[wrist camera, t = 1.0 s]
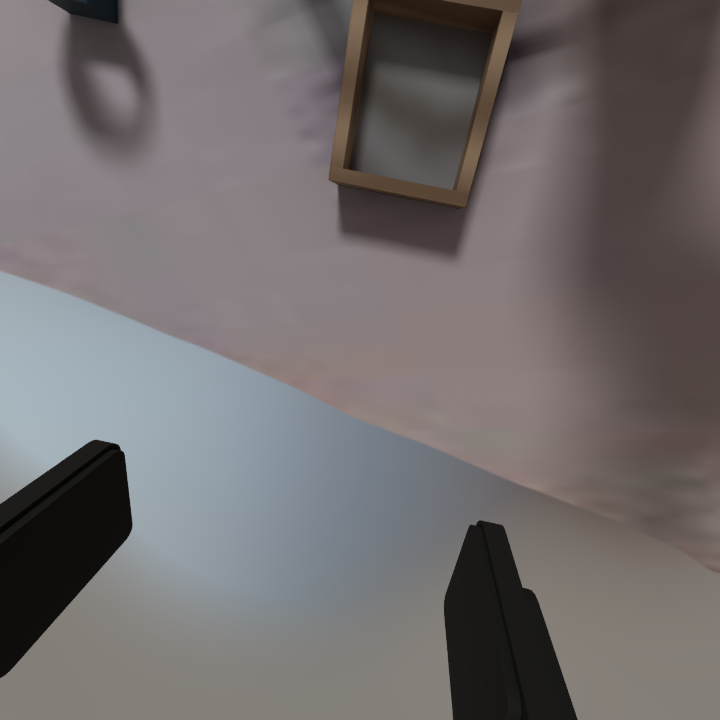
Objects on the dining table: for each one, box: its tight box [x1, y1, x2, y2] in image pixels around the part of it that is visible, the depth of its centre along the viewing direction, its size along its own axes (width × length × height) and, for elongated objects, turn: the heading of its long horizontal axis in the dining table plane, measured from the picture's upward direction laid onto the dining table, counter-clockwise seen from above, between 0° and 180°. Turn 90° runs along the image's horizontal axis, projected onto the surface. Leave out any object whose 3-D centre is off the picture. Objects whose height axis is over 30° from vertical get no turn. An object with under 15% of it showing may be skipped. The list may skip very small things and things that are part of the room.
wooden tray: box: [329, 0, 522, 209], centre depth 28 cm, size 13×11×4 cm
